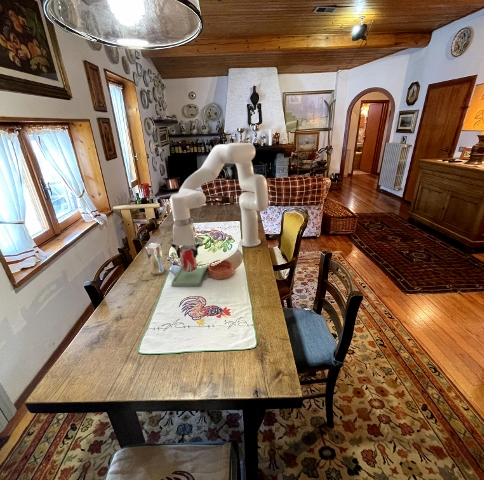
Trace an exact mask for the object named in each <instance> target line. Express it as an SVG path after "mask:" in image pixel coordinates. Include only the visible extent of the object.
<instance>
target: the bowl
mask: <svg viewBox="0 0 484 480" xmlns="http://www.w3.org/2000/svg"><path fill="white" fill-rule="evenodd" d="M220 260H221V259H217V260H214V261H212V262H210V263H209V264H208V265H207V269H208V275H209V276H210V277H211V278H212V279H215V280H224V279H228V278H230V277H231V276H233V275H234V273H235V265H234V263H233V261H230V260H229V259H223V260H224V261H222V262H221V263H219V264H217V265H215V266H211V264H212V263H215V262H217V261H220Z"/></svg>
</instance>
